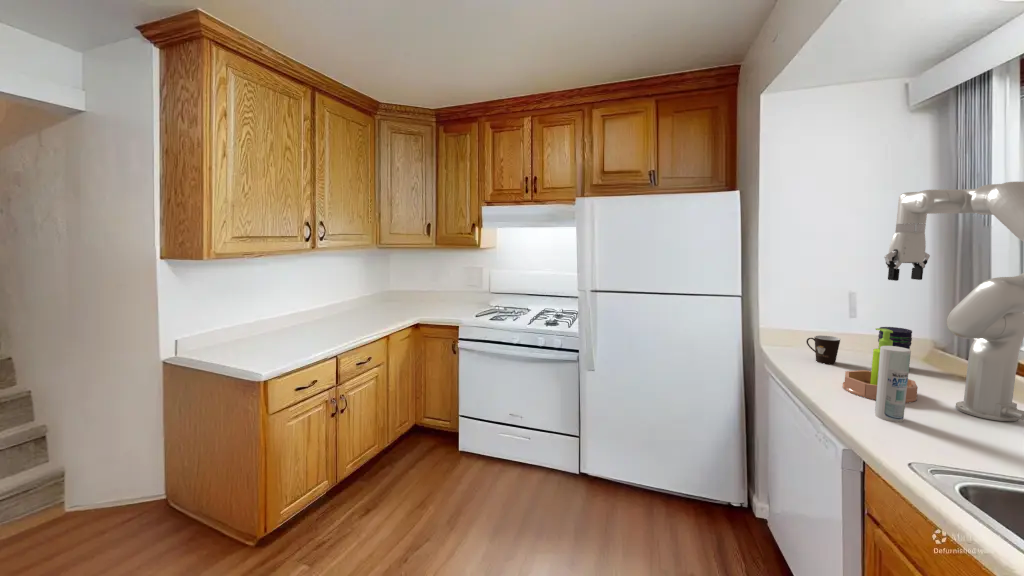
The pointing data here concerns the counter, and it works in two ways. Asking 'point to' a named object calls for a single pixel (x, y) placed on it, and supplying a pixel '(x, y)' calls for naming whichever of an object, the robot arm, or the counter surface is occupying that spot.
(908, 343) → the storage jar
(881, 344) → the soap dispenser
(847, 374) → the bowl
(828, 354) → the coffee mug
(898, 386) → the spray can
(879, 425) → the counter surface
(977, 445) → the counter surface
